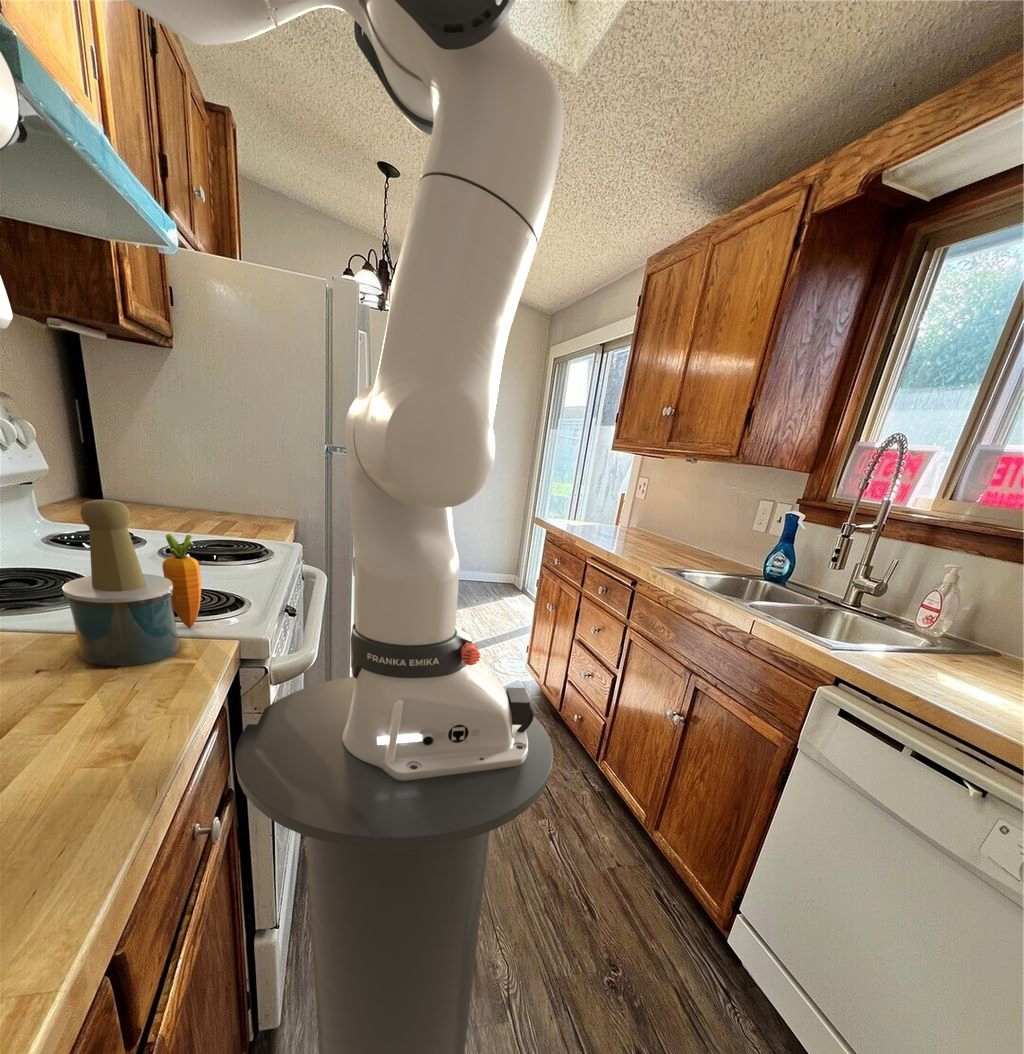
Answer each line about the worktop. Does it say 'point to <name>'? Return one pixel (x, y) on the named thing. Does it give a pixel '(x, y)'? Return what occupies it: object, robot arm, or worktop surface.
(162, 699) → the worktop surface
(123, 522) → the tan pepper shaker
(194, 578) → the carrot
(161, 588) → the pot
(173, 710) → the worktop surface
